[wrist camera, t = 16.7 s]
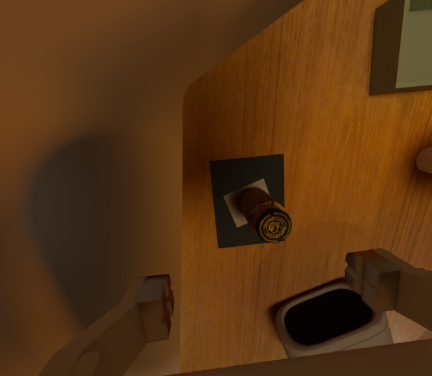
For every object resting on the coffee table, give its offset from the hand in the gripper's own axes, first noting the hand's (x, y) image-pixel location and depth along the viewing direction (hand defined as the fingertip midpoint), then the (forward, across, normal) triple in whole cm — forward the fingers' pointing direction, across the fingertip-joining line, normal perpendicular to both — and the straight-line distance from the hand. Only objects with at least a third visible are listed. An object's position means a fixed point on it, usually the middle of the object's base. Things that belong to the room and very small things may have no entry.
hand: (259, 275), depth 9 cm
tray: (+31, -36, -18) cm, 51 cm away
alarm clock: (+31, -20, +34) cm, 50 cm away
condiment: (+30, -6, +7) cm, 32 cm away
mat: (+31, -6, +7) cm, 32 cm away
